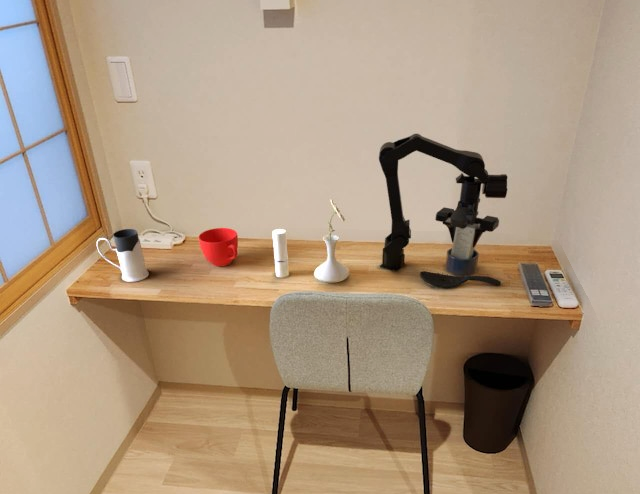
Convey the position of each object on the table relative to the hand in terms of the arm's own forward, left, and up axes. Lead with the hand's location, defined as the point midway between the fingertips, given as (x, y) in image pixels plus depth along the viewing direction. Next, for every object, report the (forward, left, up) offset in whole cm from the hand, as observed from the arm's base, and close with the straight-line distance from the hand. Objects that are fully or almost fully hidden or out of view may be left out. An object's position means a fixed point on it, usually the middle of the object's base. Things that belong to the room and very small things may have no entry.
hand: (463, 244), depth 175 cm
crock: (0, 0, -8) cm, 8 cm away
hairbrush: (+4, -10, -9) cm, 14 cm away
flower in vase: (-33, -27, -9) cm, 43 cm away
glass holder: (-92, -62, -9) cm, 111 cm away
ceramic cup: (-70, -38, -9) cm, 80 cm away
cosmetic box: (0, 0, -5) cm, 5 cm away
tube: (-48, -34, -9) cm, 59 cm away
